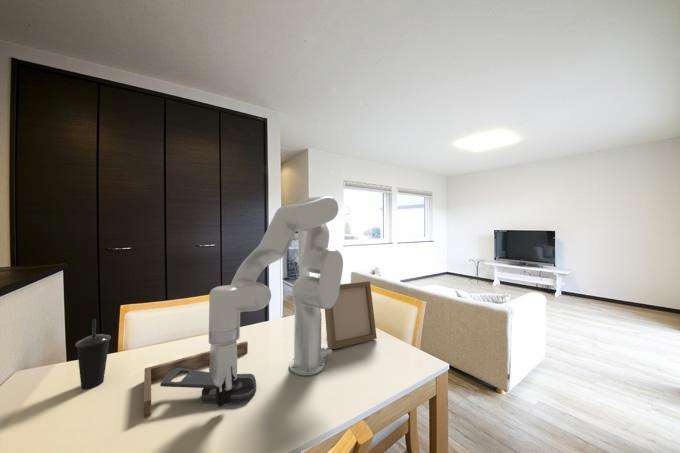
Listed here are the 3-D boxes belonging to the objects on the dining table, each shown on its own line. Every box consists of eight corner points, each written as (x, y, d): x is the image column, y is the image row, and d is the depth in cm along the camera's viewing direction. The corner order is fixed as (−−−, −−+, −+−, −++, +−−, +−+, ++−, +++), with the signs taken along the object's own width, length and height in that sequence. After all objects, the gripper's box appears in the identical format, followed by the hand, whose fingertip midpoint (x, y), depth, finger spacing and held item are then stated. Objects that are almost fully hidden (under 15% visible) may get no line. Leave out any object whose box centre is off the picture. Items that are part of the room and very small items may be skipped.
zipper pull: (175, 365, 74) (259, 362, 77) (174, 387, 74) (259, 383, 76) (155, 384, 65) (251, 380, 68) (155, 409, 65) (251, 404, 68)
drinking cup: (68, 395, 70) (70, 325, 70) (81, 380, 77) (83, 317, 77) (104, 388, 73) (105, 321, 74) (113, 374, 80) (114, 313, 81)
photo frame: (376, 340, 107) (377, 283, 107) (332, 351, 97) (332, 288, 97) (358, 328, 120) (359, 277, 120) (317, 337, 110) (318, 281, 110)
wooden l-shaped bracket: (246, 351, 96) (246, 341, 96) (264, 373, 82) (264, 361, 82) (144, 381, 77) (144, 368, 77) (143, 417, 62) (143, 402, 62)
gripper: (203, 327, 68) (202, 394, 68) (215, 348, 57) (214, 428, 56) (231, 321, 73) (230, 383, 73) (248, 339, 61) (247, 413, 61)
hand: (223, 403), depth 64 cm, fingers closed
